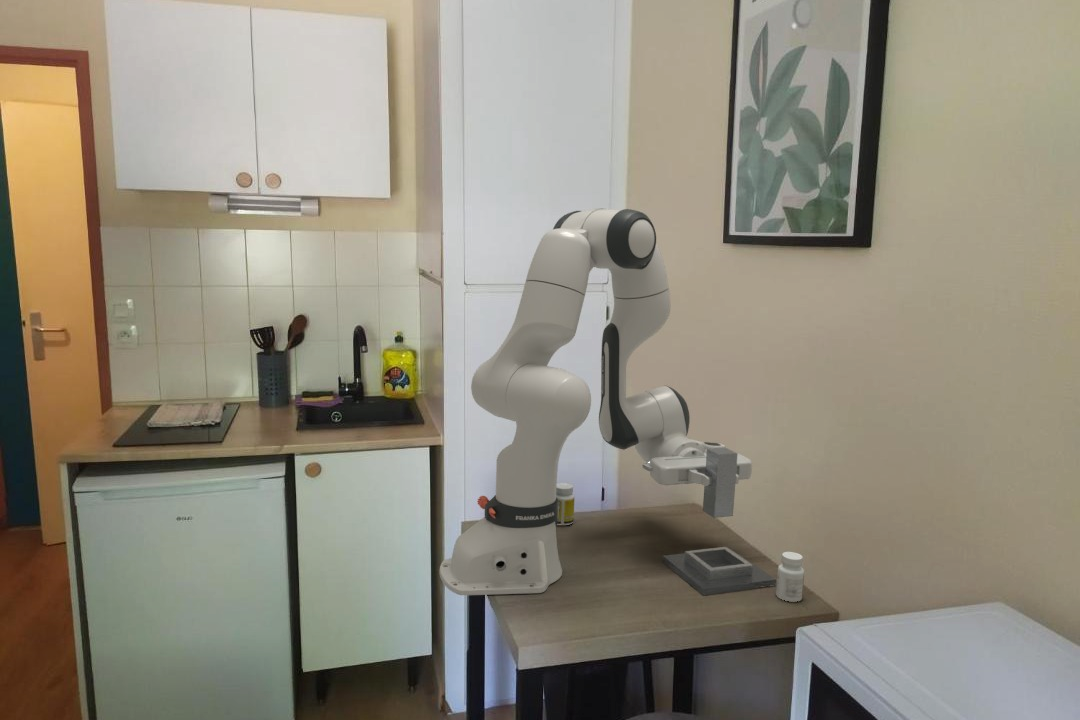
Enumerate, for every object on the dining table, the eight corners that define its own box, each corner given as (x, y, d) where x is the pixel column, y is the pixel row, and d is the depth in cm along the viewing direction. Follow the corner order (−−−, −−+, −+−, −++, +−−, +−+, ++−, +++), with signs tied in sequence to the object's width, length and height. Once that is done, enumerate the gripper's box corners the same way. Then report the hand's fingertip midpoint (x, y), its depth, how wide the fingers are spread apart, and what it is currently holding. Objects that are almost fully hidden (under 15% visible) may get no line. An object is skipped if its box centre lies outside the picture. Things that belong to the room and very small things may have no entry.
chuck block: (703, 595, 133) (704, 579, 133) (662, 561, 147) (663, 546, 147) (775, 585, 138) (776, 570, 138) (729, 553, 152) (730, 539, 152)
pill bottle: (807, 599, 133) (811, 557, 132) (790, 605, 131) (794, 562, 130) (787, 589, 137) (790, 548, 136) (770, 594, 134) (773, 553, 133)
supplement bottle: (574, 519, 168) (575, 483, 167) (573, 527, 164) (574, 489, 163) (552, 518, 169) (553, 481, 168) (550, 525, 164) (552, 488, 163)
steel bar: (714, 517, 140) (718, 454, 138) (702, 510, 143) (706, 448, 141) (732, 516, 141) (737, 453, 139) (721, 508, 145) (725, 447, 143)
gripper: (639, 448, 149) (674, 467, 136) (728, 443, 156) (770, 461, 143) (637, 479, 150) (671, 501, 137) (726, 472, 157) (767, 493, 144)
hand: (722, 481), depth 140 cm, fingers closed on steel bar, 4 cm apart
